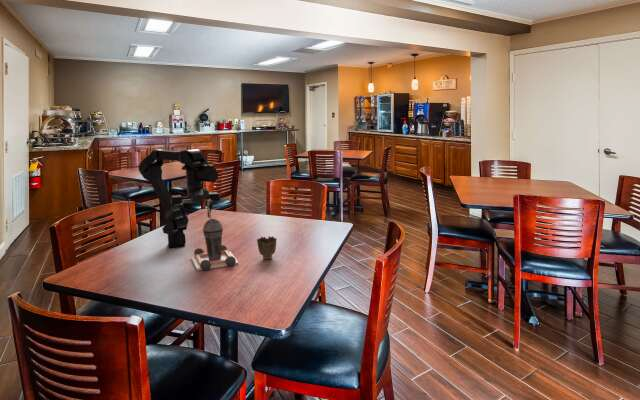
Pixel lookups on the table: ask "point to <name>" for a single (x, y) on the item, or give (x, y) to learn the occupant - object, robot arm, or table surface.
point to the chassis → (203, 261)
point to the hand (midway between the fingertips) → (196, 218)
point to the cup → (267, 247)
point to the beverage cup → (213, 238)
